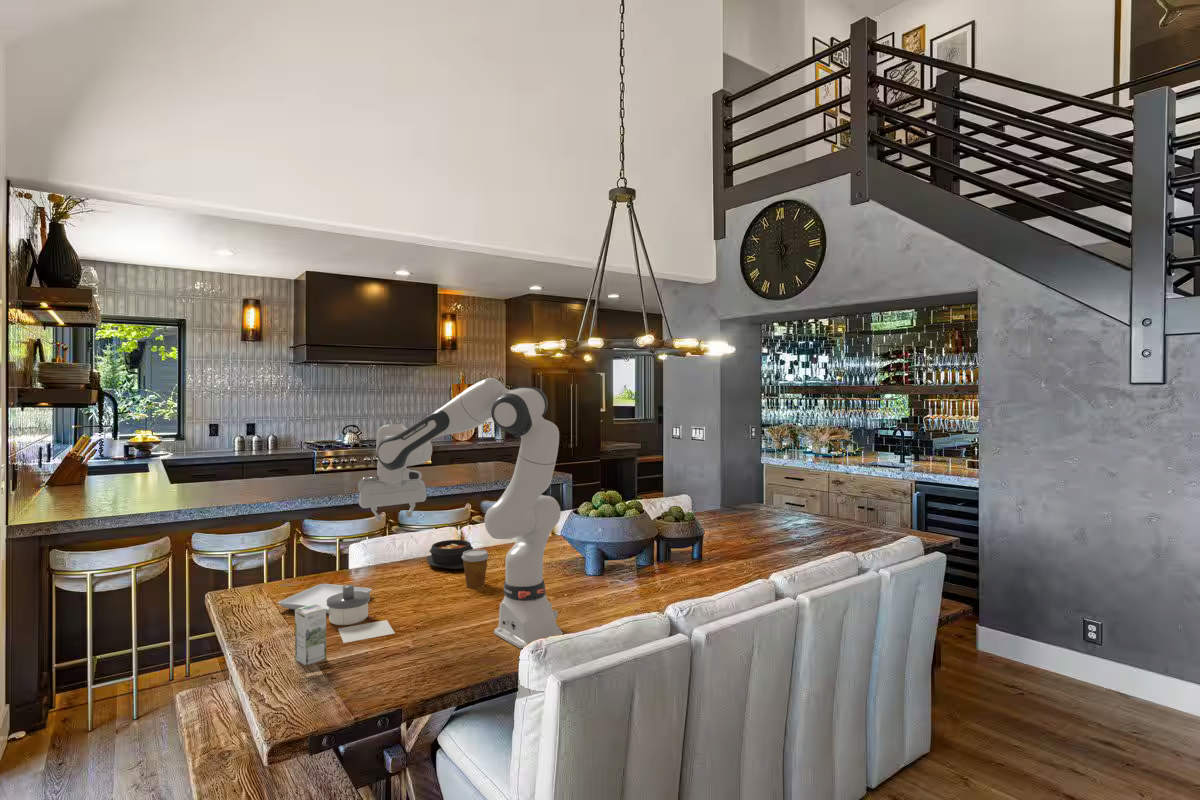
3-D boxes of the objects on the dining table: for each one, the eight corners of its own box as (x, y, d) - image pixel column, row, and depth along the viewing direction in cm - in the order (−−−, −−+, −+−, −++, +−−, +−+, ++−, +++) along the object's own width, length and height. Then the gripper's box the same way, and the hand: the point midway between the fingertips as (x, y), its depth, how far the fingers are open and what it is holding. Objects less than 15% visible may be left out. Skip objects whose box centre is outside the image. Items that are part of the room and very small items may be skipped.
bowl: (370, 623, 201) (369, 604, 201) (332, 630, 196) (331, 610, 196) (364, 612, 210) (363, 593, 210) (327, 618, 205) (327, 599, 205)
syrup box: (316, 655, 178) (315, 602, 178) (327, 661, 174) (326, 607, 174) (295, 662, 174) (293, 608, 173) (306, 668, 170) (304, 613, 169)
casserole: (488, 567, 260) (488, 546, 260) (446, 576, 248) (446, 554, 247) (456, 554, 279) (456, 534, 278) (415, 563, 266) (415, 542, 266)
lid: (373, 604, 200) (372, 588, 200) (329, 611, 194) (329, 595, 194) (366, 592, 211) (365, 577, 211) (324, 599, 205) (324, 583, 205)
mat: (395, 635, 191) (394, 633, 191) (343, 645, 184) (343, 642, 184) (386, 622, 202) (386, 619, 202) (337, 631, 195) (337, 628, 195)
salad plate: (373, 597, 226) (373, 587, 226) (332, 619, 206) (332, 608, 205) (321, 592, 232) (321, 582, 232) (276, 613, 211) (276, 602, 211)
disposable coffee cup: (491, 581, 241) (491, 549, 241) (484, 590, 232) (484, 556, 231) (466, 581, 242) (466, 548, 242) (458, 589, 233) (458, 555, 232)
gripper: (359, 479, 199) (361, 524, 199) (427, 473, 209) (428, 516, 209) (355, 477, 205) (357, 521, 205) (421, 471, 215) (423, 513, 215)
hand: (394, 519), depth 207 cm, fingers open, 8 cm apart
